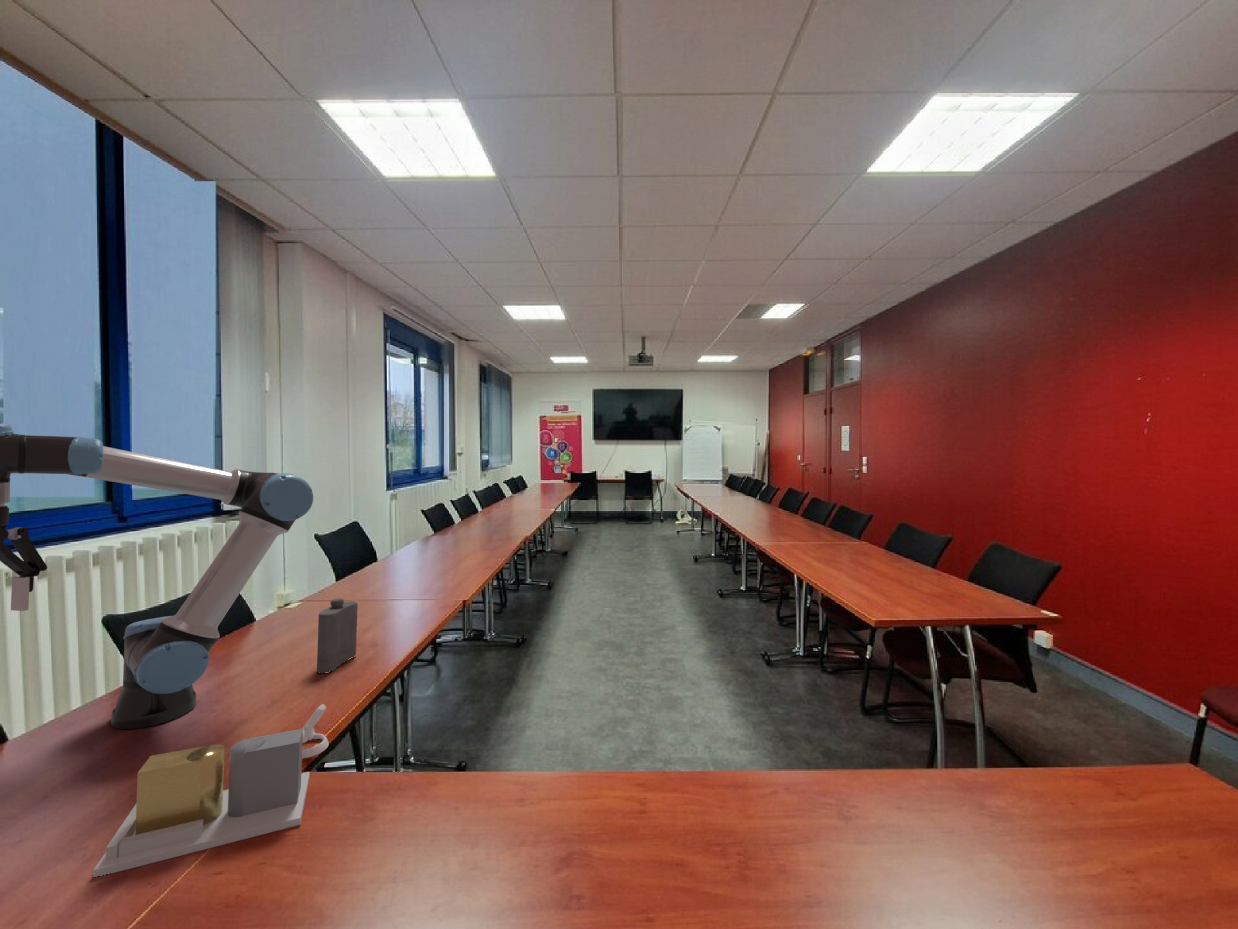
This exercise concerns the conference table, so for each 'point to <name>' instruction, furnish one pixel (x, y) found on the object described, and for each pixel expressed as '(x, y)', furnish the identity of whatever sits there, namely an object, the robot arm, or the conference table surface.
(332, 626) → the flask
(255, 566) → the robot arm
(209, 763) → the block
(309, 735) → the hook
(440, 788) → the conference table surface
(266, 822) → the hinge base
